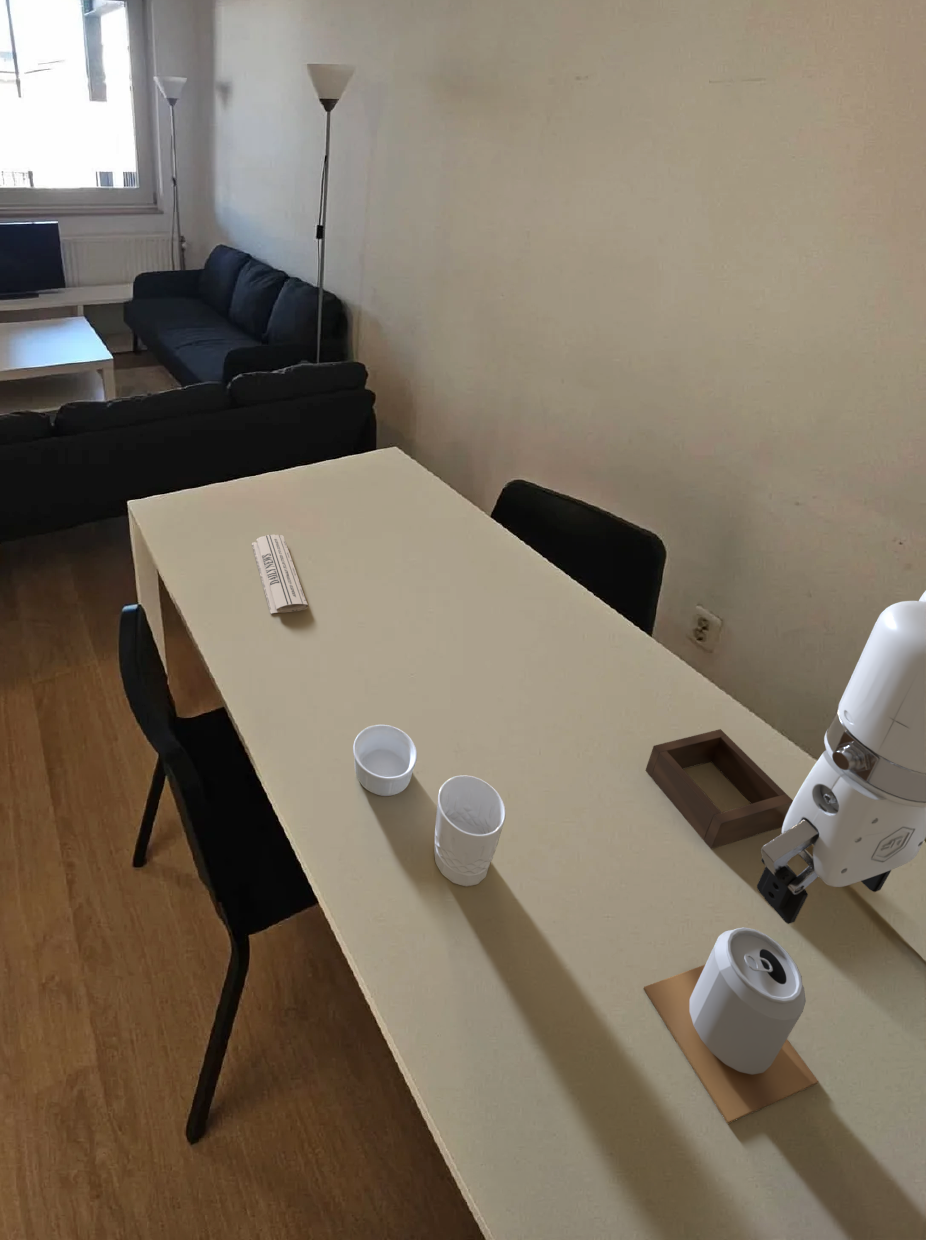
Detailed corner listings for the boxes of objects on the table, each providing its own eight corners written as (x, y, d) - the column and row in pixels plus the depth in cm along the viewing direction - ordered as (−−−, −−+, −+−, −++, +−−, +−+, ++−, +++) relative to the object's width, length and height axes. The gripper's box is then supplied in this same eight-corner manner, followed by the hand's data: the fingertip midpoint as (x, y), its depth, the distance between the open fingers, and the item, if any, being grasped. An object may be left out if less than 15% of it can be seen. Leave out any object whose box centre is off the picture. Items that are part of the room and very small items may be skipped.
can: (788, 1081, 64) (831, 1011, 60) (710, 1078, 64) (748, 1008, 60) (743, 989, 71) (779, 920, 66) (673, 986, 71) (704, 917, 66)
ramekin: (406, 810, 89) (409, 787, 87) (343, 788, 92) (345, 765, 90) (420, 757, 97) (423, 735, 95) (361, 738, 99) (363, 716, 98)
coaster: (724, 959, 74) (725, 956, 74) (817, 1083, 65) (818, 1081, 64) (643, 988, 71) (643, 986, 71) (727, 1124, 62) (728, 1122, 62)
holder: (711, 753, 99) (720, 728, 97) (782, 827, 89) (794, 801, 87) (645, 770, 96) (653, 745, 94) (710, 849, 86) (721, 823, 84)
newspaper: (307, 609, 126) (308, 602, 125) (270, 614, 124) (270, 606, 123) (283, 540, 147) (283, 533, 146) (251, 543, 145) (251, 536, 144)
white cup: (425, 827, 87) (434, 773, 83) (486, 830, 87) (497, 776, 83) (433, 890, 80) (443, 834, 76) (499, 894, 80) (512, 838, 76)
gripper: (853, 822, 46) (778, 967, 53) (1022, 766, 51) (934, 906, 58) (759, 735, 53) (704, 874, 60) (917, 692, 58) (849, 826, 64)
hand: (817, 890), depth 59 cm, fingers open, 9 cm apart
